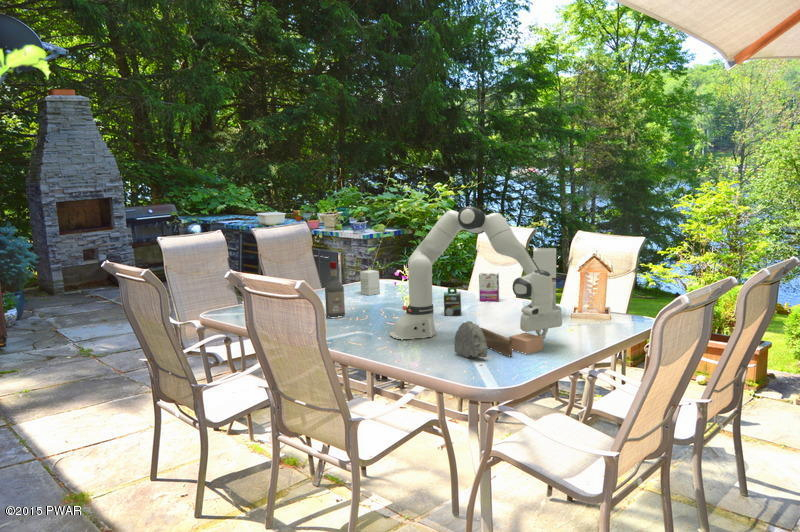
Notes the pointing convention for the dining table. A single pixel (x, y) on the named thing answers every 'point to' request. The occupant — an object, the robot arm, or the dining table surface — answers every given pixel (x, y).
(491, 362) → the dining table surface
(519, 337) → the block
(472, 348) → the decorative rock
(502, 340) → the board
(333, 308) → the liquor
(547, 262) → the display case
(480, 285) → the candy bar box
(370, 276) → the supplement box
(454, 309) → the chalk box
